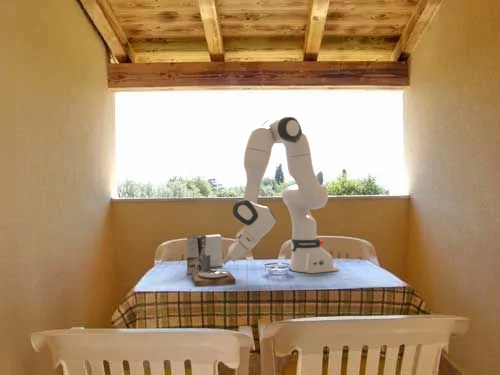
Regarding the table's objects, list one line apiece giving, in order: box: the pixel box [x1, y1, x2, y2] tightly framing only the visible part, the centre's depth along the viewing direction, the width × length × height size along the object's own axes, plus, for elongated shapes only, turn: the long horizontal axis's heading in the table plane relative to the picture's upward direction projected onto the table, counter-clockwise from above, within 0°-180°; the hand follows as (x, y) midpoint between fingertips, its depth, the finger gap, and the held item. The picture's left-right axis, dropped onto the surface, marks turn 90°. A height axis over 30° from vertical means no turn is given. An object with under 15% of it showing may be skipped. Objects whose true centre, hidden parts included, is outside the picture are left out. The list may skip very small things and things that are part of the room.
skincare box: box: [203, 233, 223, 268], centre depth 216 cm, size 8×6×15 cm
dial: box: [199, 254, 229, 279], centre depth 185 cm, size 12×12×8 cm
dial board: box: [191, 270, 237, 287], centre depth 186 cm, size 16×15×2 cm
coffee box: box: [186, 234, 206, 275], centre depth 202 cm, size 9×6×16 cm
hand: (223, 263), depth 189 cm, fingers closed
